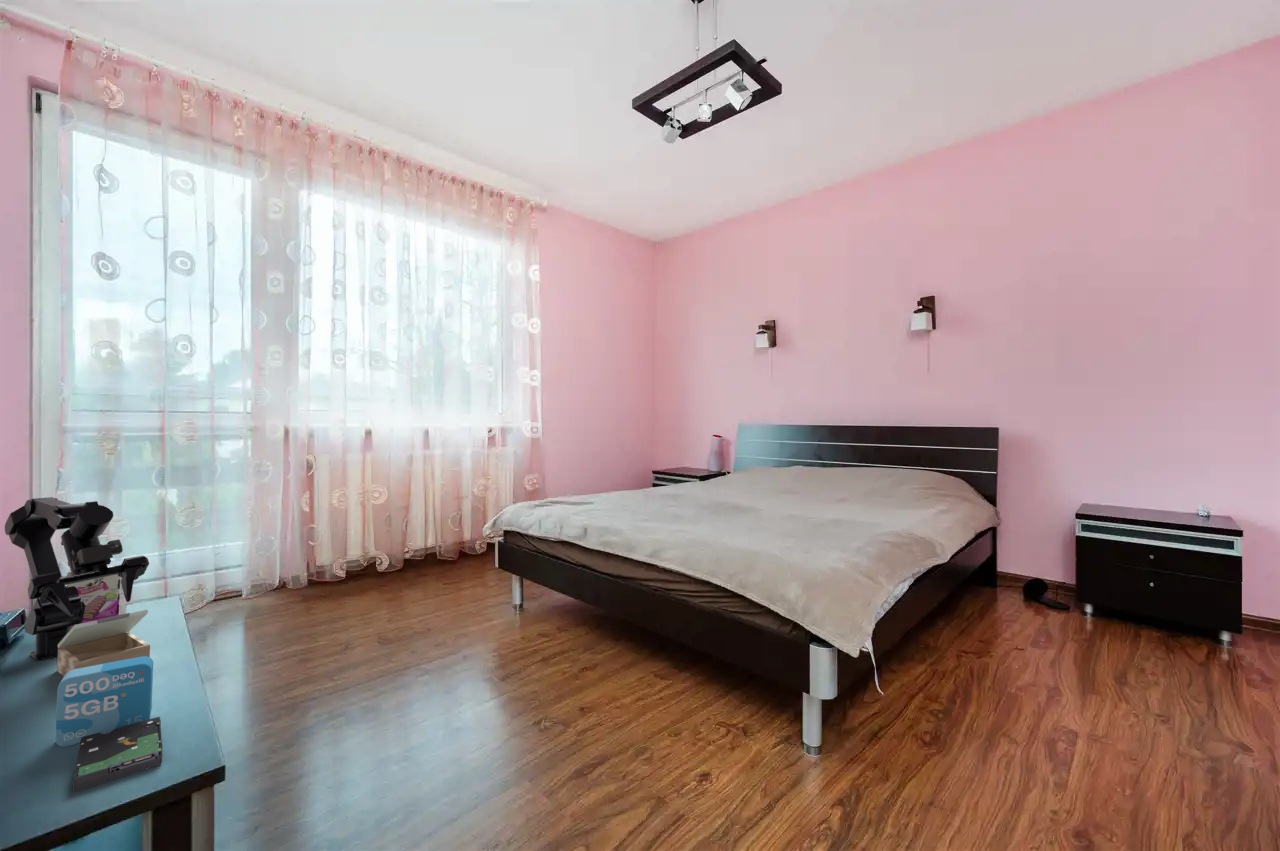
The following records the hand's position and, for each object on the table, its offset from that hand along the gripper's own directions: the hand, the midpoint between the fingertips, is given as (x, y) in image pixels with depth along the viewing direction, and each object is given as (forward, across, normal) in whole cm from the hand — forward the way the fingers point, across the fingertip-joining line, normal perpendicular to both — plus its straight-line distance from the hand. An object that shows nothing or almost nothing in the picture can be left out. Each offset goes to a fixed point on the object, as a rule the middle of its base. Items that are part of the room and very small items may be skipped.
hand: (101, 608), depth 118 cm
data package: (+31, -8, -14) cm, 35 cm away
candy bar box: (-13, +8, +41) cm, 44 cm away
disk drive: (+39, -9, -23) cm, 46 cm away
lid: (+2, +1, +8) cm, 8 cm away
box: (+9, +1, +13) cm, 16 cm away
